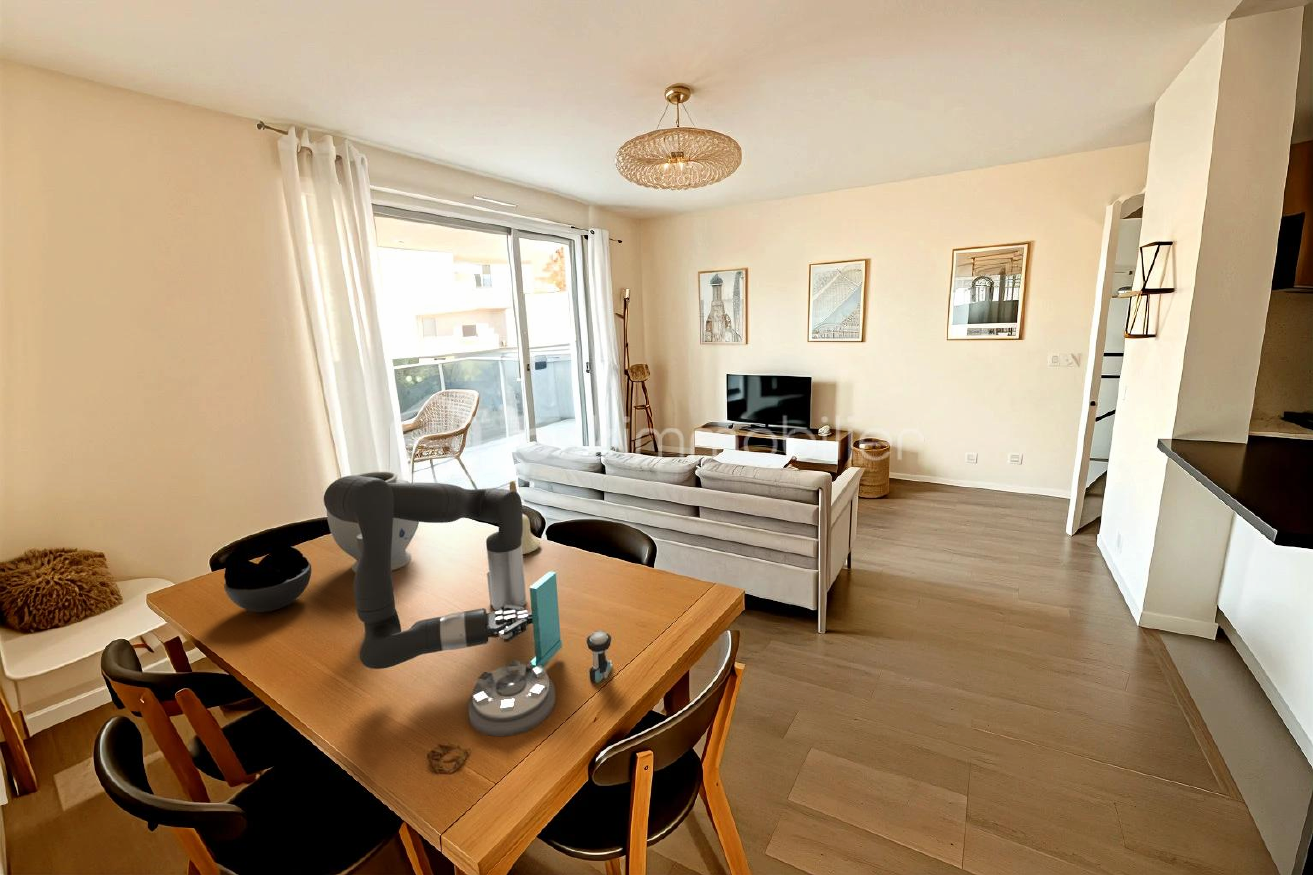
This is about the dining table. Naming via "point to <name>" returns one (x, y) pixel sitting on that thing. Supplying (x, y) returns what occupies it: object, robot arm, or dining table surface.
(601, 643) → the push button
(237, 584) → the coal bowl
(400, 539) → the grey ceramic vase
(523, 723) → the round gray base
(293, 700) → the dining table surface
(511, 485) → the handbell
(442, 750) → the leaf
